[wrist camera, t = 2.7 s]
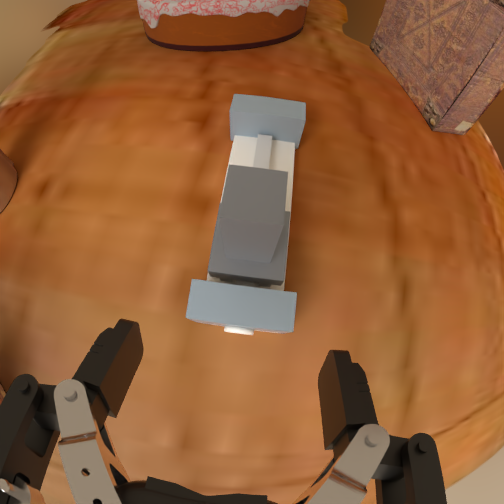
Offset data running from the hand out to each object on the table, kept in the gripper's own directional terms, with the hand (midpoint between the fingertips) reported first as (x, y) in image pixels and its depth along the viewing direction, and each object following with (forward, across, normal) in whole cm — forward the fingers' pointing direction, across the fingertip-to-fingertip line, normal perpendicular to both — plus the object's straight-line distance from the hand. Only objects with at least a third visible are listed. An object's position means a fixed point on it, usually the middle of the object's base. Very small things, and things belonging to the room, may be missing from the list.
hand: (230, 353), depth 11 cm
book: (+43, -27, -23) cm, 56 cm away
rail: (+19, 0, 0) cm, 19 cm away
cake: (+53, +12, -33) cm, 64 cm away
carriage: (+15, 0, +3) cm, 15 cm away
